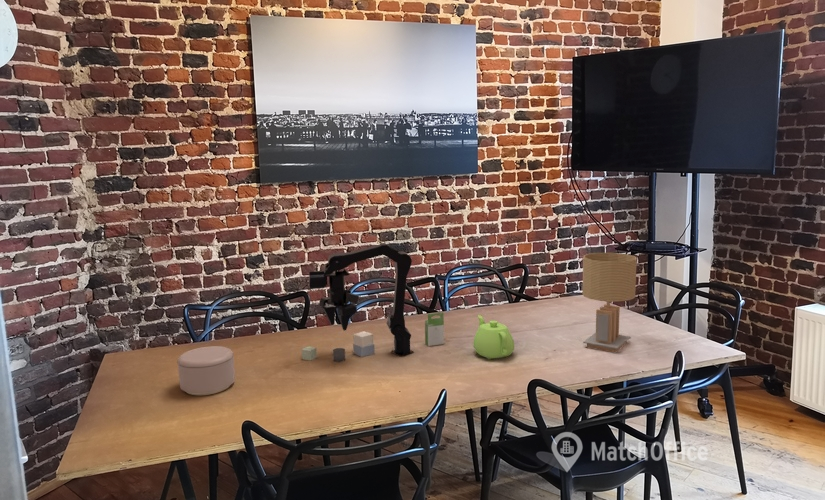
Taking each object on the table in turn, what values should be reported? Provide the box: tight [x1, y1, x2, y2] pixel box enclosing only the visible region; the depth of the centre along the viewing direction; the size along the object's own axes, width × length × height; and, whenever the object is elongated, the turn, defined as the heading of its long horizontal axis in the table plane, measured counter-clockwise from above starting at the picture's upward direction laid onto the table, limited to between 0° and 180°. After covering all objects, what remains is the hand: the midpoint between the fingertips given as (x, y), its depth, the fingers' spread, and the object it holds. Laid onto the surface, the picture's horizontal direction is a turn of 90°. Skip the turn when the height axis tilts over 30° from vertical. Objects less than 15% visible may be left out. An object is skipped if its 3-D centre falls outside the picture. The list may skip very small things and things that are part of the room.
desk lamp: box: [581, 252, 638, 353], centre depth 231 cm, size 20×20×35 cm
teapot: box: [472, 314, 515, 360], centre depth 227 cm, size 22×15×13 cm
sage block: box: [301, 345, 318, 361], centre depth 227 cm, size 4×4×4 cm
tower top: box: [353, 330, 374, 347], centre depth 231 cm, size 5×5×4 cm
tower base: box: [352, 343, 376, 358], centre depth 231 cm, size 6×6×4 cm
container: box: [177, 345, 236, 396], centre depth 202 cm, size 18×18×12 cm
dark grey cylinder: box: [332, 347, 346, 363], centre depth 225 cm, size 4×4×4 cm
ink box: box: [424, 311, 445, 347], centre depth 239 cm, size 7×4×13 cm, turn 106°
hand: (338, 327), depth 225 cm, fingers open, 9 cm apart
